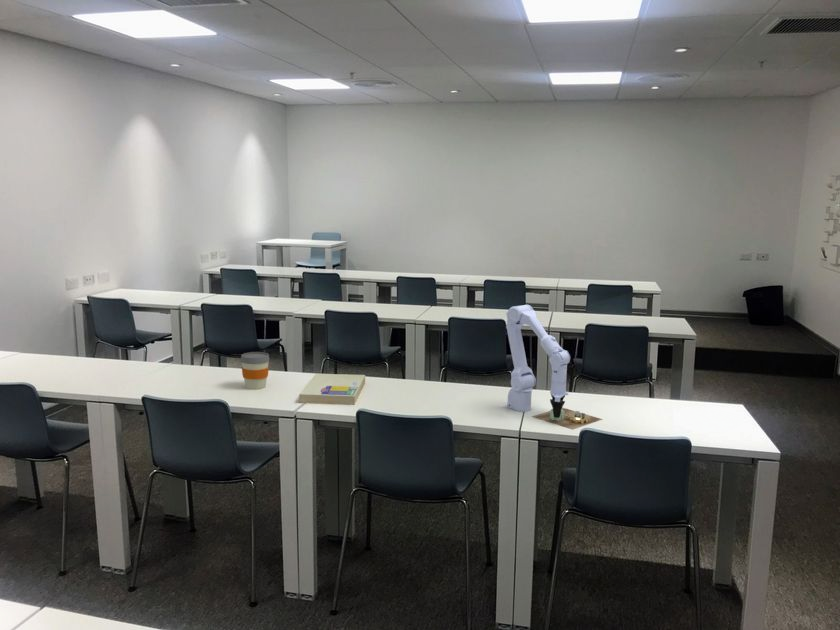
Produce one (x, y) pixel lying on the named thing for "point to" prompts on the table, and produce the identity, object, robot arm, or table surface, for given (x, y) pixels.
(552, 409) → the pale green gear
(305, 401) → the puzzle box
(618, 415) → the table surface
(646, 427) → the table surface
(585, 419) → the brass gear
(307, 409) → the table surface
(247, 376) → the reusable coffee cup
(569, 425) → the gear board
